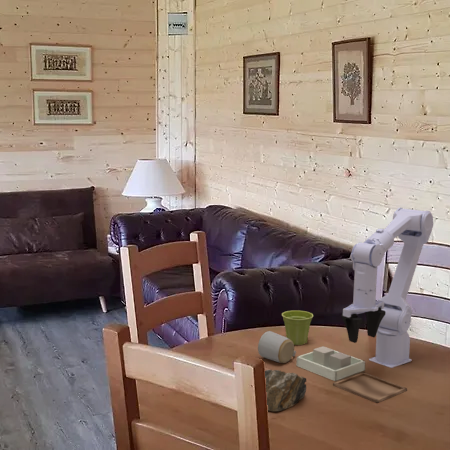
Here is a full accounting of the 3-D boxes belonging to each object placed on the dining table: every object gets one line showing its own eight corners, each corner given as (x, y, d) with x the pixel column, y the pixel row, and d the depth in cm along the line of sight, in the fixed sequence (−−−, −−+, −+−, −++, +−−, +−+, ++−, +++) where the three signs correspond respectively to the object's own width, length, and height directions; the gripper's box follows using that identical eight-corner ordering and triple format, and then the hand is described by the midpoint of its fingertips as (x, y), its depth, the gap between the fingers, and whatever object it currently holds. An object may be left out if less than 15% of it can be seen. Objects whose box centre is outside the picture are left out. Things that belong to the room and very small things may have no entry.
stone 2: (339, 367, 192) (339, 352, 192) (350, 372, 189) (351, 356, 189) (329, 371, 190) (329, 355, 189) (340, 375, 187) (340, 359, 186)
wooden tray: (363, 375, 188) (363, 371, 188) (407, 391, 178) (407, 388, 177) (332, 386, 181) (333, 383, 180) (376, 404, 170) (377, 400, 170)
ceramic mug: (279, 367, 194) (280, 340, 192) (256, 360, 199) (257, 333, 198) (302, 358, 201) (303, 332, 200) (280, 351, 207) (281, 325, 206)
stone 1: (322, 361, 197) (323, 346, 196) (333, 365, 194) (334, 350, 193) (312, 364, 195) (313, 349, 194) (323, 369, 191) (324, 353, 191)
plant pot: (278, 337, 218) (279, 310, 217) (308, 336, 219) (309, 309, 218) (284, 347, 209) (285, 319, 208) (315, 346, 210) (316, 318, 209)
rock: (273, 417, 163) (284, 376, 162) (237, 398, 170) (247, 359, 169) (306, 410, 174) (317, 371, 173) (272, 392, 181) (281, 355, 180)
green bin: (325, 357, 201) (326, 347, 201) (364, 371, 191) (365, 361, 190) (296, 367, 194) (296, 356, 193) (335, 382, 183) (335, 371, 183)
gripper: (359, 295, 176) (356, 348, 178) (394, 287, 185) (391, 337, 187) (337, 290, 181) (335, 341, 183) (373, 282, 191) (370, 331, 193)
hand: (362, 339), depth 186 cm, fingers open, 7 cm apart
